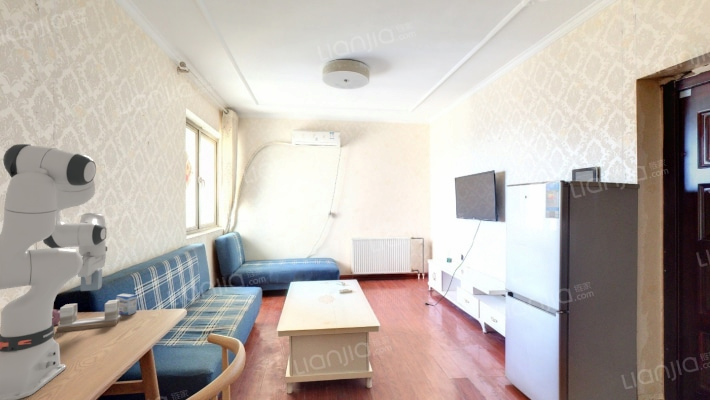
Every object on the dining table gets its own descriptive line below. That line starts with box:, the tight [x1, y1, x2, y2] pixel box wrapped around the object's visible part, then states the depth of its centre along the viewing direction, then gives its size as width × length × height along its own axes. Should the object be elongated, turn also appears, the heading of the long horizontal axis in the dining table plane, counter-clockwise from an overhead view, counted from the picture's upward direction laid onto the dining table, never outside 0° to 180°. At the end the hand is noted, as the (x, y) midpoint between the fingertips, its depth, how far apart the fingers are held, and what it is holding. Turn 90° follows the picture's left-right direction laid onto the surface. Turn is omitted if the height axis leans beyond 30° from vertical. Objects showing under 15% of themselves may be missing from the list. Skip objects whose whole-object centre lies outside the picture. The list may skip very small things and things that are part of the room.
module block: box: [80, 268, 103, 292], centre depth 136 cm, size 4×6×9 cm
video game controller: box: [52, 309, 60, 327], centre depth 137 cm, size 10×5×7 cm, turn 85°
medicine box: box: [115, 293, 138, 316], centre depth 151 cm, size 8×4×9 cm, turn 77°
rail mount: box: [55, 299, 122, 333], centre depth 136 cm, size 8×20×9 cm, turn 114°
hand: (91, 282), depth 136 cm, fingers closed on module block, 4 cm apart
